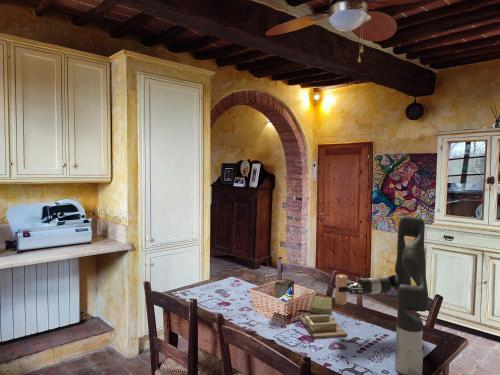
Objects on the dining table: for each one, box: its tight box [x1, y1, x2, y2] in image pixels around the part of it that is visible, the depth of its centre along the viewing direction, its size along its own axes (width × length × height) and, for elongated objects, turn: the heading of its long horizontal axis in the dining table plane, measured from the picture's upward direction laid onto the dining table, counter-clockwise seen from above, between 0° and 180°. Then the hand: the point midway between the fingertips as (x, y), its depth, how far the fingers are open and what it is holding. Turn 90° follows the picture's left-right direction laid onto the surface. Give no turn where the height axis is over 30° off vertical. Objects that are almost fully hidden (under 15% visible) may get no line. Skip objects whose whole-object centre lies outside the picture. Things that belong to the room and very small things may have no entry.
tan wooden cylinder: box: [334, 273, 349, 306], centre depth 178 cm, size 5×5×13 cm
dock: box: [299, 314, 348, 339], centre depth 178 cm, size 20×16×4 cm
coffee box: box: [274, 278, 295, 298], centre depth 197 cm, size 9×6×16 cm
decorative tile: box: [311, 295, 333, 315], centre depth 205 cm, size 19×20×4 cm
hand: (336, 287), depth 177 cm, fingers closed on tan wooden cylinder, 5 cm apart
